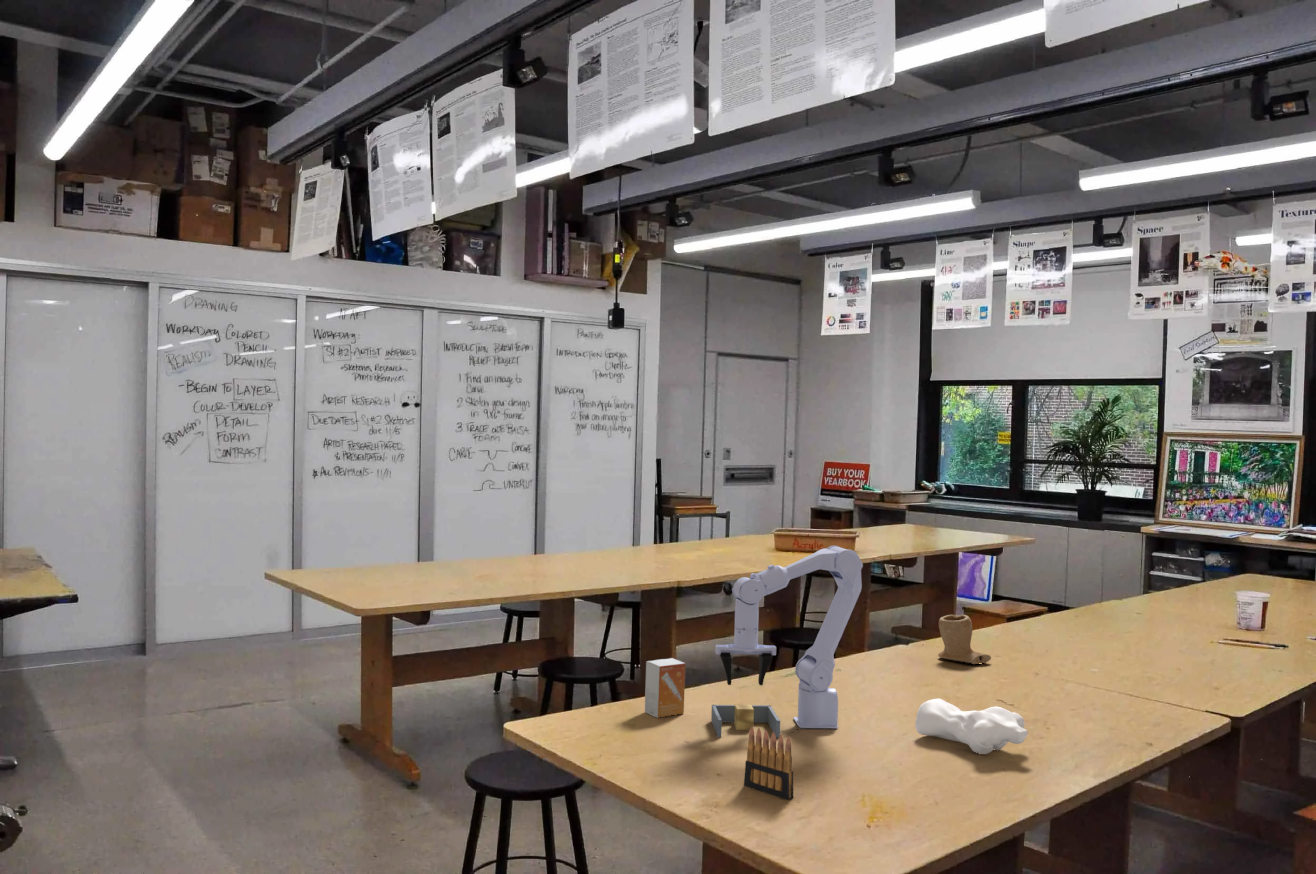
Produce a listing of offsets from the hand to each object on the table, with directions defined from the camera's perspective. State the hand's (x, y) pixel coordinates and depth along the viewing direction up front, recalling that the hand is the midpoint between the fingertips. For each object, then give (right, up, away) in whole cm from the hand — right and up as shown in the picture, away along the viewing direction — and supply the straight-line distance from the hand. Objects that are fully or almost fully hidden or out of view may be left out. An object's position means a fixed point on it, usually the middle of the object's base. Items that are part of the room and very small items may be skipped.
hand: (744, 684), depth 231 cm
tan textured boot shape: (+77, -13, +77) cm, 109 cm away
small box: (-19, -10, +10) cm, 24 cm away
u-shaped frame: (0, -10, -2) cm, 11 cm away
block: (0, -11, 0) cm, 10 cm away
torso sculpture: (+52, -12, -11) cm, 54 cm away
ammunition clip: (+1, -11, -42) cm, 43 cm away
